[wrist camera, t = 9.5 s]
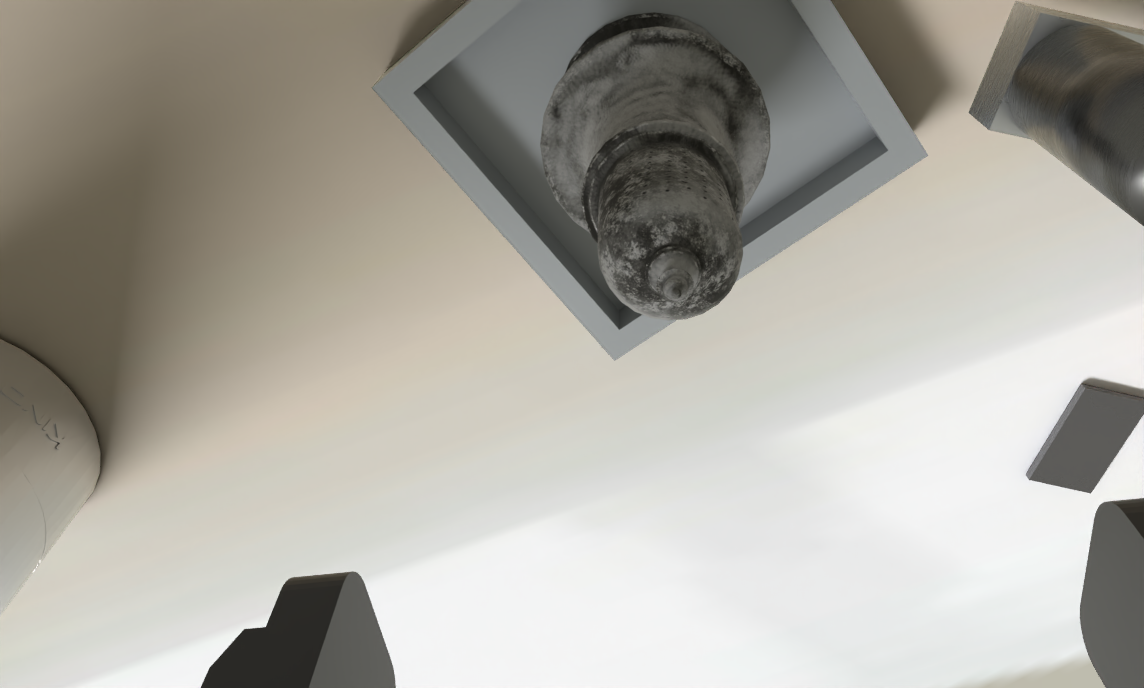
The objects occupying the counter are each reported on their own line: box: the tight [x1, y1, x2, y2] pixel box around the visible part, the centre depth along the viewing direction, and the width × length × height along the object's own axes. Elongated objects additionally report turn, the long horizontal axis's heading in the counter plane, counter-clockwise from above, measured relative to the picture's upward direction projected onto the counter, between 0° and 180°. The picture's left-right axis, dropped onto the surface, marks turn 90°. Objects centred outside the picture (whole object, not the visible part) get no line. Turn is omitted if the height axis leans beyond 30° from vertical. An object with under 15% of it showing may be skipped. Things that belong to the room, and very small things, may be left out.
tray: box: [372, 0, 928, 361], centre depth 27 cm, size 11×11×2 cm
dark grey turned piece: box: [540, 12, 770, 321], centre depth 22 cm, size 6×6×12 cm
